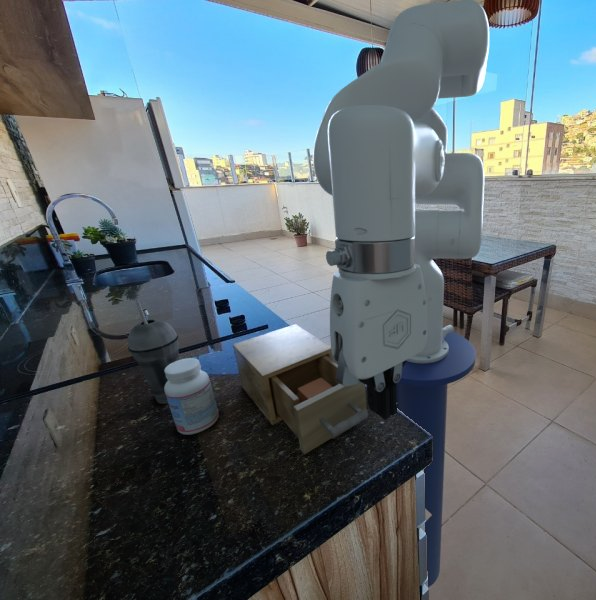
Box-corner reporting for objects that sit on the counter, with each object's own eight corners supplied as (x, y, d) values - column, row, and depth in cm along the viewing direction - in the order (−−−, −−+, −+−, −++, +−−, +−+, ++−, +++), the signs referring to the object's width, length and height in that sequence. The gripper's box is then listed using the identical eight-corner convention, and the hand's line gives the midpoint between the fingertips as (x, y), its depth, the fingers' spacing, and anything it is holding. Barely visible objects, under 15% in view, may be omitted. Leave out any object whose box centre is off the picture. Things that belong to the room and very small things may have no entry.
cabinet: (337, 392, 61) (332, 347, 57) (272, 425, 53) (262, 376, 49) (301, 363, 71) (295, 323, 67) (242, 387, 63) (232, 344, 59)
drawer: (383, 429, 50) (381, 388, 47) (319, 472, 43) (312, 426, 40) (325, 382, 62) (320, 347, 60) (267, 409, 55) (259, 371, 52)
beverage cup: (197, 381, 65) (171, 288, 58) (187, 403, 58) (157, 301, 51) (155, 388, 63) (123, 293, 56) (140, 412, 56) (101, 307, 49)
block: (323, 398, 56) (321, 377, 54) (337, 410, 53) (335, 388, 51) (300, 410, 53) (297, 388, 52) (313, 423, 50) (310, 400, 49)
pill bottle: (176, 420, 54) (157, 363, 50) (216, 406, 58) (201, 351, 54) (179, 442, 50) (158, 381, 46) (222, 424, 53) (207, 366, 49)
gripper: (330, 277, 24) (347, 467, 30) (455, 249, 33) (448, 397, 39) (286, 261, 29) (308, 426, 35) (405, 242, 38) (406, 373, 44)
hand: (382, 410), depth 37 cm, fingers closed
